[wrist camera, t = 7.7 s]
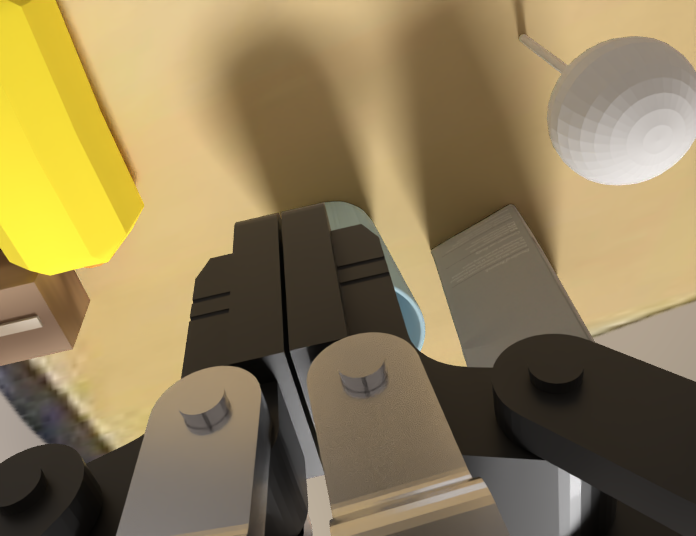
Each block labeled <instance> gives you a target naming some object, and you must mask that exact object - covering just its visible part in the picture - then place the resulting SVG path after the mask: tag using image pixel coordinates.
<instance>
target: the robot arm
mask: <svg viewBox="0 0 696 536" xmlns="http://www.w3.org/2000/svg"><path fill="white" fill-rule="evenodd" d="M281 219H282V220H281ZM190 319H191V321H190V322H189V328H188V335H187V342H186V349H185V356H184V362H183V369H182V376H181V380H179V381H177V382H176V383H175V384H173V385H172V386H171V387H169V388H168V389H167V390H166V391H165V392H164V393H163V394H162V395H161V397H160V398H159V399H158V400H157V402H156V404H155V405H154V407H153V409H152V411H151V414H150V417H149V420H148V424H147V427H146V431H145V434H143V435H142V436H140V437H139V438H137V439H136V440H134V441H132V442H130V443H128V444H126V445H124V446H122V447H120V448H118V449H116V450H114V451H112V452H110V453H108V454H106V455H103V456H101V457H99V458H97V459H95V460H93V461H91V462H89V463H87V464H86V463H85V462H84V460H83V459H82V457H81V456H80V455H79V453H78V452H77V451H76V450H74V449H73V448H71V447H69V446H66V445H62V444H45V445H41V446H36V447H33V448H30V449H27V450H24V451H22V452H20V453H17V454H15V455H14V456H12V457H10V458H8V459H6V460H5V461H4V462H2V463H0V536H312V535H313V533H312V524H311V521H310V518H309V515H308V497H307V483H306V479H308V478H313V477H317V476H322V475H325V480H326V484H327V489H328V495H329V500H330V505H331V510H332V516H333V519H331V520H330V532H331V536H696V382H694V381H692V380H690V379H687V378H684V377H682V376H679V375H677V374H674V373H672V372H669V371H666V370H664V369H661V368H658V367H656V366H654V365H651V364H648V363H646V362H643V361H641V360H638V359H636V358H633V357H630V356H628V355H626V354H623V353H620V352H618V351H615V350H613V349H610V348H607V347H605V346H603V345H600V344H597V343H595V342H592V341H590V340H587V339H584V338H581V337H577V336H572V335H567V334H542V335H535V336H532V337H528V338H525V339H522V340H520V341H517V342H516V343H514V344H512V345H510V346H509V347H508V348H506V349H505V350H504V351H503V352H502V353H501V354H500V355H499V357H498V358H497V359H496V361H495V363H494V365H493V368H489V367H461V366H453V365H448V364H444V363H441V362H438V361H435V360H433V359H431V358H429V357H427V356H426V355H424V354H423V353H421V352H420V351H419V350H418V349H417V348H416V347H415V346H414V344H413V343H412V342H411V340H410V338H409V335H408V332H407V329H406V325H405V322H404V319H403V316H402V312H401V309H400V306H399V302H398V299H397V296H396V292H395V289H394V286H393V282H392V279H391V276H390V273H389V269H388V266H387V263H386V260H385V256H384V253H383V249H382V246H381V243H380V239H379V237H378V236H377V235H375V234H374V233H373V232H371V231H370V230H369V229H368V228H366V227H365V226H364V225H362V224H358V225H354V226H350V227H345V228H341V229H337V230H332V231H331V228H330V223H329V219H328V215H327V211H326V208H325V204H324V202H322V203H318V204H314V205H309V206H305V207H301V208H296V209H292V210H288V211H283V212H281V217H280V215H279V213H275V214H271V215H266V216H262V217H258V218H253V219H249V220H245V221H240V222H236V223H235V226H234V241H233V253H232V254H228V255H223V256H219V257H215V258H210V260H209V261H208V263H207V264H206V265H205V267H204V268H203V269H202V271H201V272H200V274H199V275H198V276H197V278H196V279H195V286H194V293H193V304H192V307H191V314H190Z"/></svg>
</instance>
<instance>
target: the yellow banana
mask: <svg viewBox="0 0 696 536" xmlns="http://www.w3.org/2000/svg"><path fill="white" fill-rule="evenodd" d="M143 207H144V203H143V201H142V199H141V197H140V195H139V193H138V191H137V188H136V186H135V184H134V182H133V180H132V178H131V175H130V173H129V171H128V169H127V167H126V165H125V163H124V160H123V158H122V156H121V154H120V152H119V150H118V147H117V145H116V143H115V141H114V139H113V137H112V135H111V132H110V130H109V128H108V126H107V124H106V122H105V119H104V117H103V115H102V113H101V111H100V108H99V106H98V103H97V101H96V99H95V96H94V94H93V91H92V89H91V86H90V84H89V81H88V79H87V76H86V74H85V71H84V69H83V67H82V64H81V62H80V59H79V57H78V54H77V52H76V49H75V47H74V44H73V42H72V40H71V37H70V35H69V32H68V30H67V27H66V25H65V22H64V20H63V17H62V15H61V12H60V10H59V8H58V5H57V3H56V0H0V248H1V250H2V251H3V253H4V254H5V256H6V257H7V259H8V260H9V262H11V263H13V264H15V265H18V266H20V267H22V268H25V269H27V270H29V271H33V272H37V273H41V274H46V275H50V276H51V275H55V274H59V273H63V272H67V271H70V270H74V269H78V268H82V267H85V268H92V267H96V266H100V265H102V264H104V263H106V262H108V261H109V260H110V259H111V258H112V257H113V255H114V254H115V252H116V251H117V249H118V248H119V247H120V245H121V244H122V242H123V241H124V240H125V238H126V237H127V236H128V234H129V233H130V232H131V230H132V228H133V226H134V225H135V223H136V221H137V219H138V217H139V215H140V213H141V211H142V209H143Z"/></svg>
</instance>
